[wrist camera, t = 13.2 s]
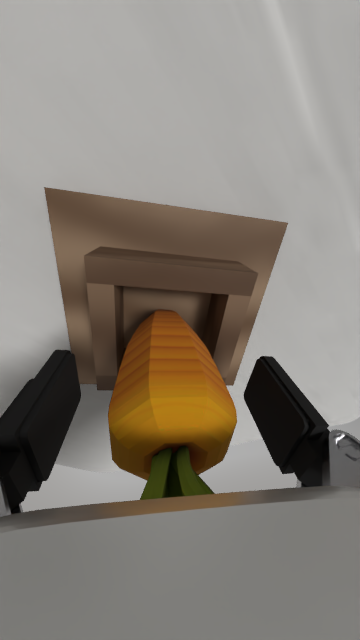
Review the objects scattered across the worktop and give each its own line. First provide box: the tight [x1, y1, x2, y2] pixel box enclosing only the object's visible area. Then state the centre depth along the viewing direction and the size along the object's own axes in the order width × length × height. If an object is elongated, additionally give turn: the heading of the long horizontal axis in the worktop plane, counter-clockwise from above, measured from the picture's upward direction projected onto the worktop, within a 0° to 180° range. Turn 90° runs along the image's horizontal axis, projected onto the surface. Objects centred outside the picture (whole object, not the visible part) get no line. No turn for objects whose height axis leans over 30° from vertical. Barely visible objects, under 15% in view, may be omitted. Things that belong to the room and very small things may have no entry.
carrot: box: [108, 309, 237, 500], centre depth 10 cm, size 5×5×15 cm
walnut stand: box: [44, 187, 288, 390], centre depth 15 cm, size 16×16×4 cm
